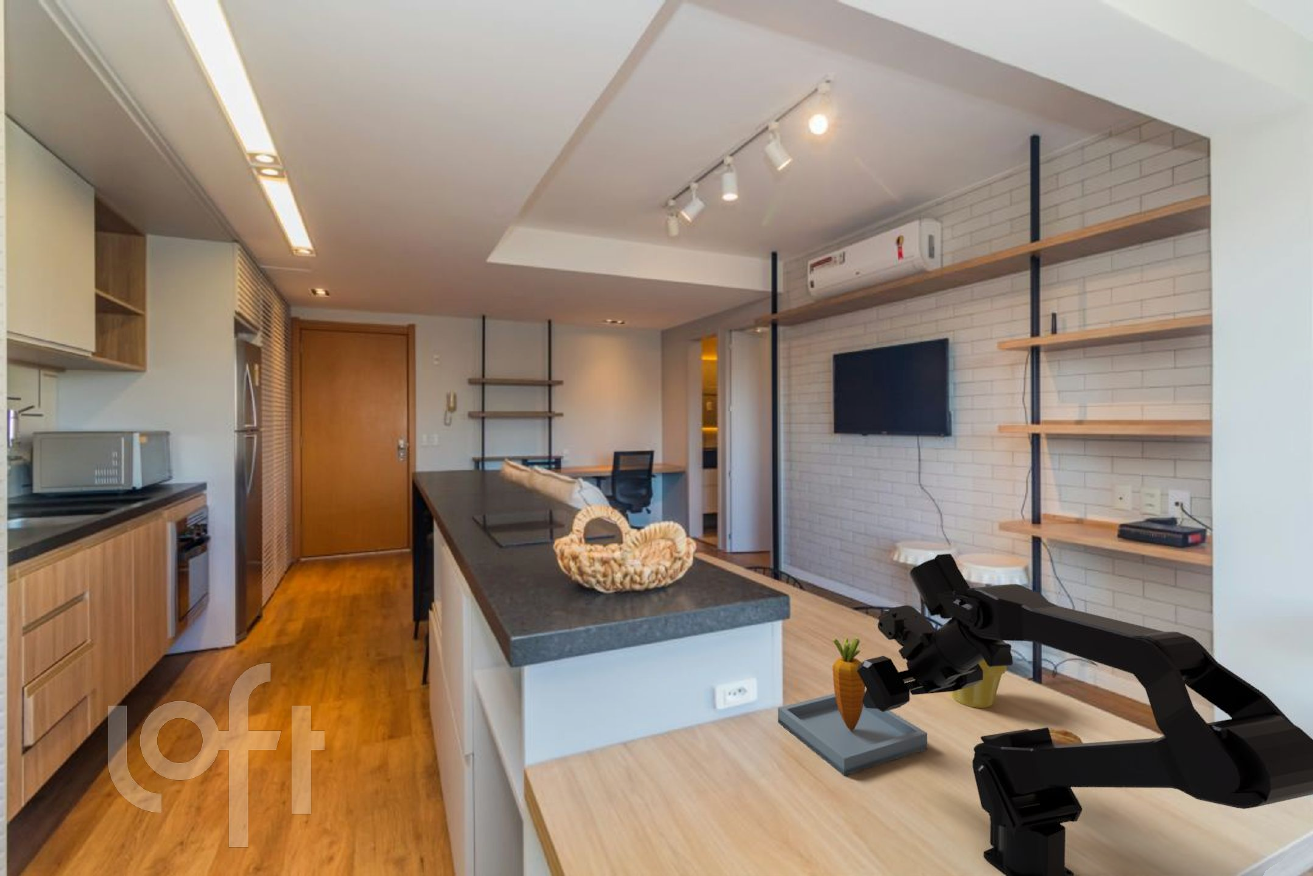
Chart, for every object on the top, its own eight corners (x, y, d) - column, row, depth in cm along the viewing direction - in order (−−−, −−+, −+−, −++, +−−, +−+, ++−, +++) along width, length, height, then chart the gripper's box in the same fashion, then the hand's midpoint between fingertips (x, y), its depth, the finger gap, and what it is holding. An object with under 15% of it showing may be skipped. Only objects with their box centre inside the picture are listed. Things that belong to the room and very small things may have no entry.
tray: (927, 749, 91) (927, 733, 91) (844, 775, 84) (844, 758, 84) (853, 702, 105) (853, 688, 105) (778, 722, 99) (778, 707, 99)
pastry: (1081, 791, 81) (1081, 763, 81) (1024, 771, 85) (1024, 745, 85) (1091, 760, 88) (1092, 735, 87) (1038, 744, 92) (1038, 720, 92)
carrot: (828, 729, 95) (824, 636, 95) (848, 719, 98) (844, 629, 98) (854, 742, 91) (850, 645, 91) (874, 731, 94) (870, 637, 94)
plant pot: (1014, 717, 100) (1015, 660, 99) (947, 710, 102) (948, 654, 102) (996, 689, 110) (997, 637, 109) (935, 683, 112) (936, 632, 112)
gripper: (964, 584, 86) (902, 636, 96) (867, 602, 78) (811, 656, 88) (1017, 657, 79) (945, 705, 89) (917, 685, 71) (850, 734, 81)
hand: (888, 697), depth 87 cm, fingers open, 9 cm apart
